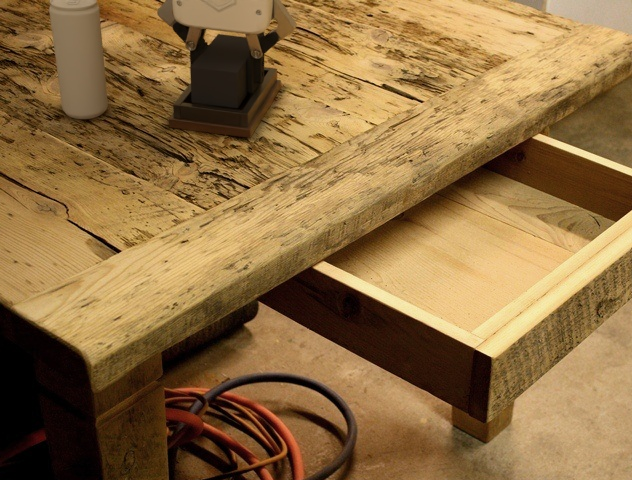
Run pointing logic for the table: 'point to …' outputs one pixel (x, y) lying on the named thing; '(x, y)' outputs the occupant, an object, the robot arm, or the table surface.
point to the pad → (221, 72)
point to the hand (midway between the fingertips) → (227, 83)
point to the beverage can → (79, 57)
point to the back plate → (227, 110)
